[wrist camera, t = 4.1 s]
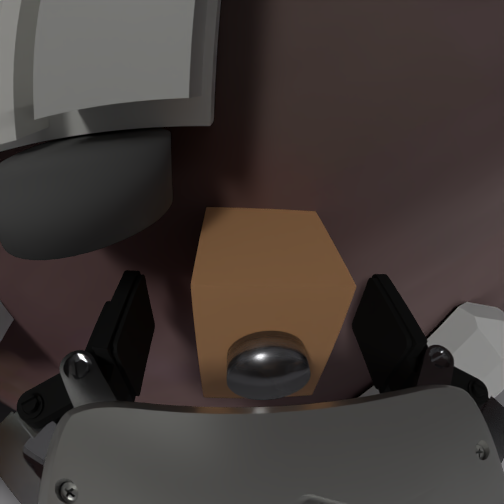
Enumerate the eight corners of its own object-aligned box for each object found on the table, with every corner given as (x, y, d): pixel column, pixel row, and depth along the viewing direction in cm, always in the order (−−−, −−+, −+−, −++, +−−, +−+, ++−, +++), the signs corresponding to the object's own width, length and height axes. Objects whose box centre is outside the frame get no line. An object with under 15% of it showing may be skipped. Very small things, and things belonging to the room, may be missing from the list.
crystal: (496, 307, 11) (274, 468, 22) (540, 361, 10) (327, 494, 21) (464, 264, 18) (297, 419, 28) (508, 312, 16) (341, 446, 27)
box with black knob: (206, 206, 11) (186, 312, 6) (315, 210, 12) (368, 311, 7) (209, 313, 15) (202, 418, 10) (294, 314, 15) (316, 414, 10)
